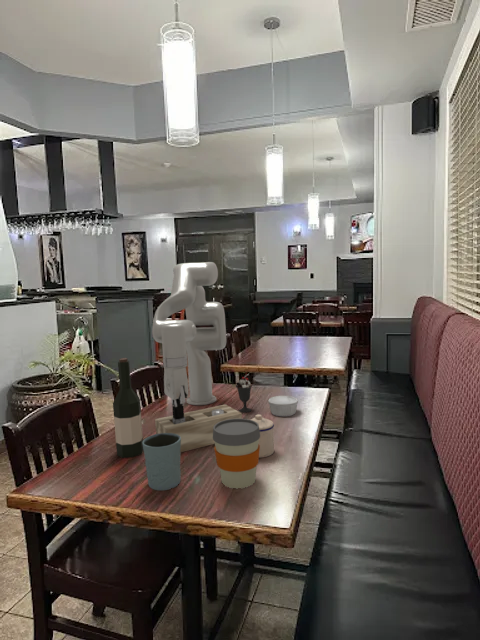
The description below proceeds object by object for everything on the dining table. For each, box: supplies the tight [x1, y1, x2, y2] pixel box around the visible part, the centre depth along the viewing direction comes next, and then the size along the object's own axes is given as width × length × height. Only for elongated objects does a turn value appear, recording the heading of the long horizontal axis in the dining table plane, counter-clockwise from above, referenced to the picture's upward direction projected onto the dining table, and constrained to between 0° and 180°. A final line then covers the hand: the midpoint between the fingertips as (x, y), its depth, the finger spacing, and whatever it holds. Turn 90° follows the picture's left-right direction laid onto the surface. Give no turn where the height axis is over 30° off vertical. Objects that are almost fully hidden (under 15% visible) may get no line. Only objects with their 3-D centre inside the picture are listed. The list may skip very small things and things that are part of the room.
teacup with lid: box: [250, 413, 275, 458], centre depth 136 cm, size 12×9×12 cm
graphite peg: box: [173, 416, 185, 424], centre depth 145 cm, size 4×4×8 cm
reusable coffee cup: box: [213, 418, 260, 490], centre depth 118 cm, size 13×13×15 cm
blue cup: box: [142, 433, 182, 491], centre depth 119 cm, size 10×10×12 cm
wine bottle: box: [112, 357, 144, 459], centre depth 139 cm, size 8×8×30 cm
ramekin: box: [267, 395, 299, 417], centre depth 172 cm, size 11×11×5 cm
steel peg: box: [212, 409, 224, 416], centre depth 151 cm, size 4×4×8 cm
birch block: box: [154, 404, 243, 453], centre depth 148 cm, size 12×26×8 cm, turn 119°
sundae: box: [235, 372, 253, 414], centre depth 175 cm, size 7×7×15 cm
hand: (178, 417), depth 144 cm, fingers closed
